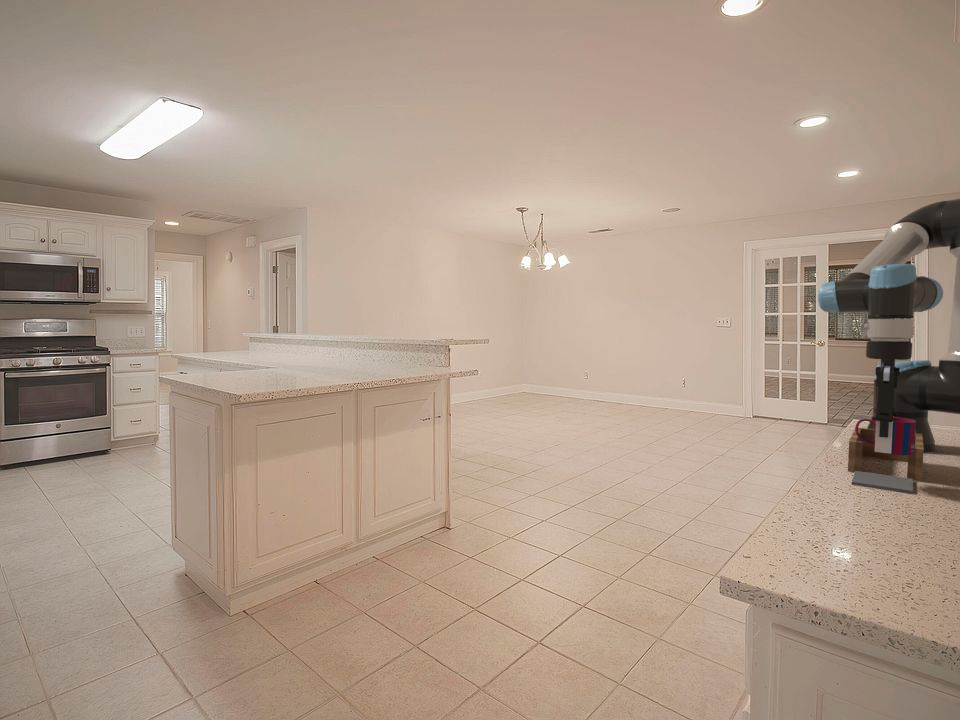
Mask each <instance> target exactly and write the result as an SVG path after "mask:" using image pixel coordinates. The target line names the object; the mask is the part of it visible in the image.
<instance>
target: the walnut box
mask: <svg viewBox="0 0 960 720" xmlns="http://www.w3.org/2000/svg"><path fill="white" fill-rule="evenodd" d="M858 432H859V435H860V436H861V437H862V438H864V439H865V440H868V441H873V440H874V429H867V427H866V428H865V427H864V428H863V427H858ZM924 453H925V452H924V447H923V437H922V434H917V433H915V445H914V454H913V455H894V454H887V453H881V452H875V450H874V449H873V445H872V444H869V443H866V442H864V441H862V440H861V439H860V438H859V437H858V436H857V435H856V431H855V429H854V430H853V432H852V433H851V437H850V438H849V440H848V456H847V457H848V458H847V459H848V460H847V461H848V462H847V471H848V472H851V473H855V471H861V472H863V471H862V469H863V456H864V458H865V457H866V458H871V457H872V459H881V460H882V459H883V460H889V461H897V462H904V463H907V466H906V467H907V468H906V469H907V471H906V478H910V479H913V482H914V481H915V482H923V473H924V472H923V470H924V469H923V468H924Z"/></svg>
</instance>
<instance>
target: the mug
mask: <svg viewBox="0 0 960 720" xmlns="http://www.w3.org/2000/svg"><path fill="white" fill-rule="evenodd" d="M862 422H869V423H870V422H871V423H872V424H873V425H874V426H875V427H874V440H873V441H868V440H865V439H864V438H862V437H861V436H860V435H859V432H858V428H859V426H860V424H861V423H862ZM892 422H893V429H892V449H891V454H894V455H913V454H914V445H915V433H916V421H915V420H911V419H906V418H900V417H893V420H892ZM854 430H855V431H856V435H857V436H858V437H859V438H860V439H861V440H862V441H864V442H866V443H869V444H872V445H873V449H874V450H875V433H876V421H873V420H871V418H870V419H869V418H862V419H859V420H858V421H857V422H856V424H855V428H854ZM887 454H890V453H887Z"/></svg>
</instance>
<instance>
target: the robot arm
mask: <svg viewBox="0 0 960 720" xmlns="http://www.w3.org/2000/svg"><path fill="white" fill-rule="evenodd" d="M946 247H949V253H950V254H951V255H952V256H954V257H955V258H956V265H955V275H954V285H953V294H952V295H953V298H952V307H951V318H950V326H949V327H950V329H949V340H948V350H947V353H946V354H945V355H943V356H941V357H940V358H939V361H938V366H937V365H932V362H931V360H927V359H925V360H924V359H923V360H922V359H921V360H919V359H918V360H911V359H912V357H913V342H912V341H910V339H913V338H914V328H915V327H914V326H915V319H914V317H915V316H914V315H915V314H914V313H917V312H918V313H922V312H926V311H929V310H932V309H934V308H935V307H937V306H938V305H939V304H940V302H941V301H942V300H943V297H944V289H943V287H942V285H941V283H940V282H938V281H937V280H935V279H933V278H930V277H927V276H925V275H922V276H921V275H920V276H918V275H917V268H916V266H915V265H914V264H912V263H908V261H909V260H910V259H911V258H912V257H915V256H917V255H919V254H922V252H924V251H925V250H929V249H930V250H931V249H934V248H935V249H936V248H946ZM817 302H818V305H819V307H820V309H821V310H822V311H823V312H825V313H838V314H842V313H843V314H844V313H845V314H847V313H868V314H867V322H868V323H865V324H864V325H863V328H864V329H867V333H866V334H867V335H866V337H867V338H868V339H870V340H867V342H866V350H865V356H866V358H868V359H873V360H880V363H879V364H877V365H876V366H875V369H874V370H875V371H874V377H873V405H872V407H873V408H872V416H871V418H870V420H873V421H876V433H875V452H881V453H890V454H891V449H892V429H893V422H892V420H893V417H900V418H906V419H911V420H915V421H916V433H917V434H922V437H923V447H924V453H925V452H932V451H935V449H936V440H935V438H934V435H933V431H932V429H931V426H930V423H929V420H928V417H929V416H928V415H929V411H930V412H937V413H947V414H956V415H960V198H955V199H949V200H941V201H937V202H934V203H930V204H926V205H925V206H921V207H920V208H918V209H915V210H914V211H912V212H910V213H909V214H907V215H906V216H904V217H902V218H901V219H899V220H898V221H896V222H895V223H894V224H893V225H892V226H890V228H888V230H887V231H886V233H885V234H884V237H883V240H882V241H881V242H880V243H879V244H878V245H877V246H876V247H874V248H873V249H872V251H871V252H869V253H868V254H867V255H866V256H865V257H864V258H863V259H862V260H861V261H860V262H859V263H858V264H857V265H856V266H854V268H852V270H851V271H850V272H848V273H847V274H846V275H845V276H844V277H843V278H842V279H841V280H834V281H833V280H832V281H827V282H825V283H823V284H822V285H821V286H820V288H819V290H818V293H817ZM896 360H900V361H896ZM902 360H903V361H902ZM906 360H907V361H906ZM874 427H875V426H874V425H873V424H872V423H871V422H869V423H868V426H867V427H866V429H874Z"/></svg>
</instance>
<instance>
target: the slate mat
mask: <svg viewBox="0 0 960 720" xmlns="http://www.w3.org/2000/svg"><path fill="white" fill-rule="evenodd" d="M851 485H852V486H859V487H864V488H865V487H867V488H872V489H879V490H886V491H890V492H891V491H892V492H897V493H904V494H912V495H913V494H914V481H913V479H910V478H907V477H902V476H896V475H889V474H881V473H875V472H868V471H862V472H861V471H855V472H853V476H852V480H851Z"/></svg>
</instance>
